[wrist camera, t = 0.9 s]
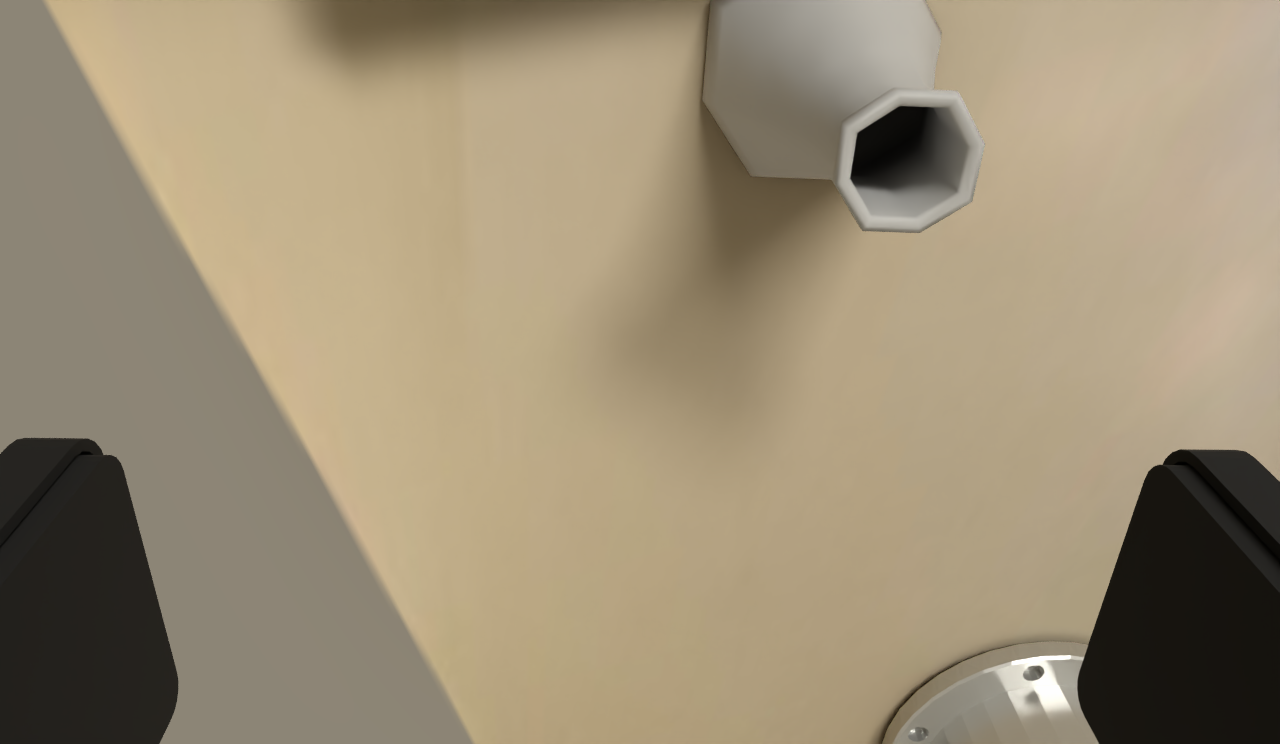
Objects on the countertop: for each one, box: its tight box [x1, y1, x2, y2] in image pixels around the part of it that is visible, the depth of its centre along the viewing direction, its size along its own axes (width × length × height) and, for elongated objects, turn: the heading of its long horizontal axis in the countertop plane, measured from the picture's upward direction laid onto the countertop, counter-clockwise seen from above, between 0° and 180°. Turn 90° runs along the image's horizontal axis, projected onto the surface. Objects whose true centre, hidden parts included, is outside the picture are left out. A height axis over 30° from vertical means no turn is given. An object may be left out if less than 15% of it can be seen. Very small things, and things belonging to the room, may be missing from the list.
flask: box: [702, 0, 985, 233], centre depth 25 cm, size 7×7×10 cm
